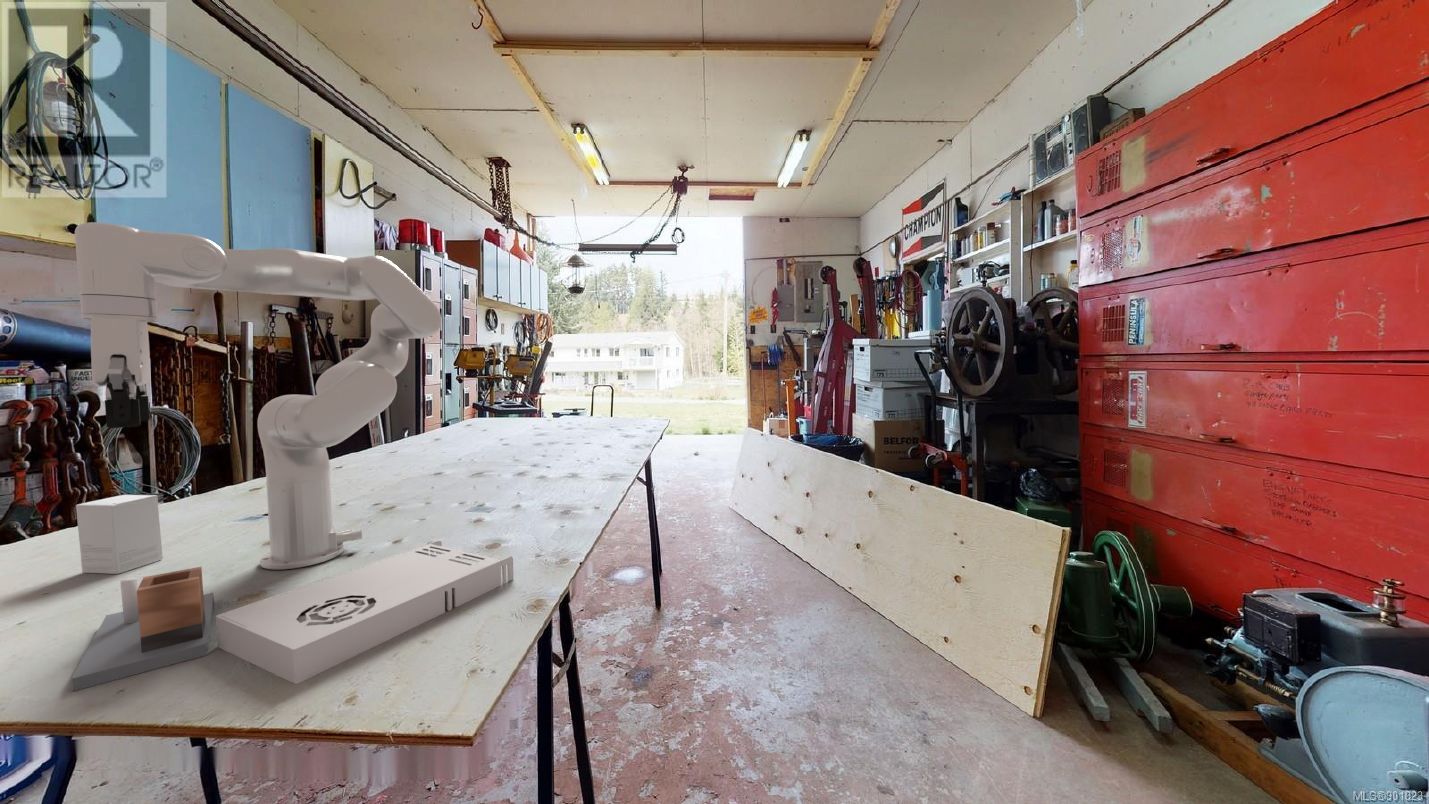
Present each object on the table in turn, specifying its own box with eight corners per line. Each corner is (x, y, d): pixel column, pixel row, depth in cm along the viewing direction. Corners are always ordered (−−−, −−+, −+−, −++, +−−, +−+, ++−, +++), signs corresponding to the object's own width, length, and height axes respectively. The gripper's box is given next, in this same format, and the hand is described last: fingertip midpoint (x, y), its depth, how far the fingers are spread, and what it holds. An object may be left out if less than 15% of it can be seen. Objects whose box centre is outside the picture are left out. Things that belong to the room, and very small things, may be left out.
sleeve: (205, 622, 72) (201, 566, 71) (202, 637, 68) (198, 578, 67) (148, 635, 68) (143, 577, 67) (141, 653, 64) (136, 590, 63)
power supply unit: (514, 583, 90) (513, 555, 90) (296, 690, 60) (293, 649, 60) (441, 564, 98) (440, 539, 98) (217, 652, 68) (214, 615, 68)
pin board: (214, 601, 81) (210, 555, 80) (207, 654, 66) (203, 598, 66) (107, 625, 74) (102, 574, 73) (72, 691, 59) (66, 628, 58)
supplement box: (164, 559, 98) (159, 494, 98) (116, 575, 91) (110, 505, 90) (130, 557, 99) (125, 493, 98) (79, 573, 92) (73, 504, 91)
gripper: (94, 312, 81) (103, 421, 82) (65, 303, 68) (77, 432, 69) (164, 316, 86) (171, 418, 87) (149, 307, 73) (159, 427, 74)
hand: (129, 424), depth 78 cm, fingers open, 9 cm apart
